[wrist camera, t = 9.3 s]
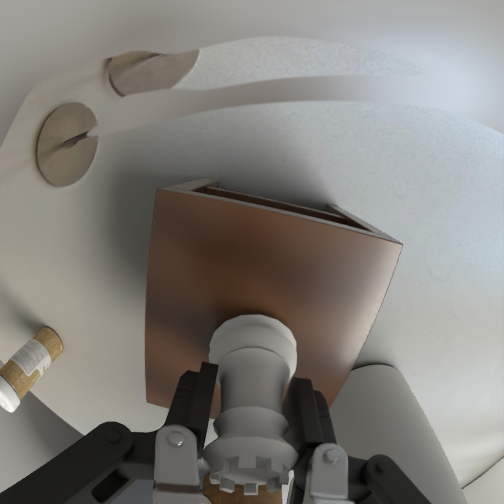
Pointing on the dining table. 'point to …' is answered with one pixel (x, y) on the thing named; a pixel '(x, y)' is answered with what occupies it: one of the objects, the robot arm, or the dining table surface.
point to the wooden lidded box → (259, 282)
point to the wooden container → (238, 495)
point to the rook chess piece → (251, 404)
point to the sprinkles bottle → (27, 367)
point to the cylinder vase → (393, 430)
